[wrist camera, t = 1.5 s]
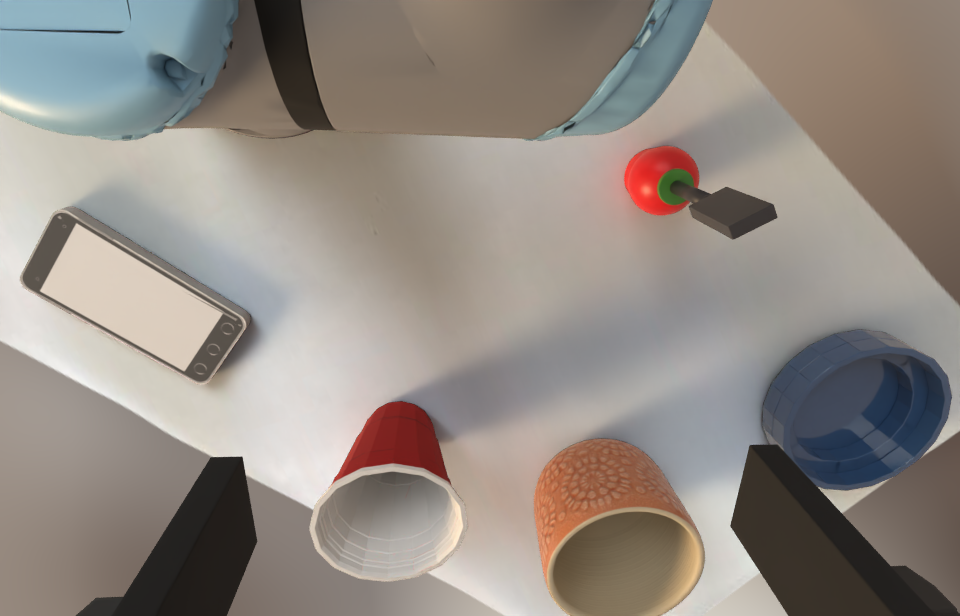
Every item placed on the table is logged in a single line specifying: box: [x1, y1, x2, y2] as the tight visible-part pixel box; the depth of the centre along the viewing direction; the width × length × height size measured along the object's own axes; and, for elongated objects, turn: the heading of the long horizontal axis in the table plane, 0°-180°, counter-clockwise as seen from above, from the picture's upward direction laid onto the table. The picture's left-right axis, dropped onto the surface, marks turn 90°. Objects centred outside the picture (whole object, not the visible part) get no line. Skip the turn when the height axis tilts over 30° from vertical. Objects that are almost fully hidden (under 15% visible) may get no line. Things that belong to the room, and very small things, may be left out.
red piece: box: [624, 146, 777, 239], centre depth 35 cm, size 5×5×15 cm
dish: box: [763, 329, 952, 490], centre depth 48 cm, size 14×14×4 cm
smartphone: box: [20, 207, 251, 385], centre depth 42 cm, size 7×1×15 cm
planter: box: [534, 439, 705, 616], centre depth 47 cm, size 12×12×11 cm
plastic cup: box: [309, 401, 468, 582], centre depth 43 cm, size 11×11×12 cm
